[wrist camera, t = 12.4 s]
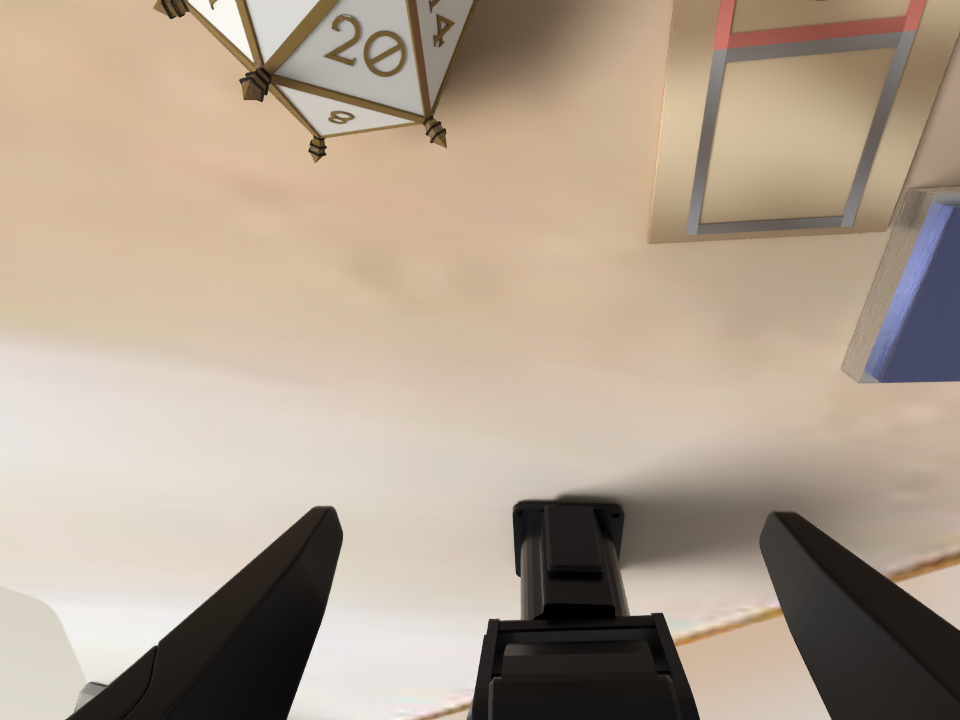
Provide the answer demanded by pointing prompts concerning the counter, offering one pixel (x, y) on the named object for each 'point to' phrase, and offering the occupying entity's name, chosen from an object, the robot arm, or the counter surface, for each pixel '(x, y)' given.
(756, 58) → the card sheet
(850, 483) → the counter surface
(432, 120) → the game die
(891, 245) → the ink pad
